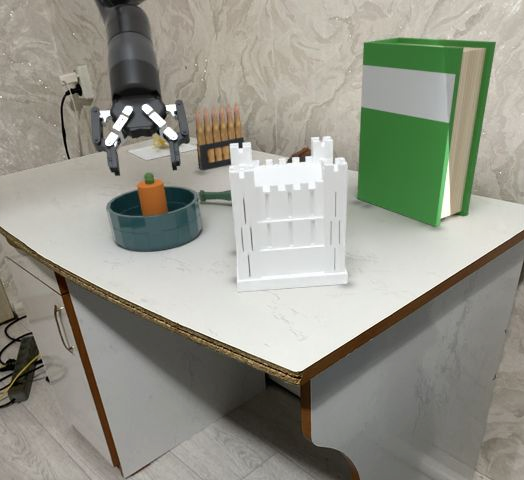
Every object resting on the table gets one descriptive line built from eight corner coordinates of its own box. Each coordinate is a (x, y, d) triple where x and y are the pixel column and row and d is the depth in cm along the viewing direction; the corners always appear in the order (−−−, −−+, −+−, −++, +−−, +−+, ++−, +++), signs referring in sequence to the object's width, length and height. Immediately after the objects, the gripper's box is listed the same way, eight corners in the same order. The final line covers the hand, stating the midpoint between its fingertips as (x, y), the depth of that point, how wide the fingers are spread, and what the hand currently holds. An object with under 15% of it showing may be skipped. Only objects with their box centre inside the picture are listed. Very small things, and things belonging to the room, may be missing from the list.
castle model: (237, 247, 80) (227, 143, 72) (331, 240, 80) (332, 135, 72) (237, 292, 69) (225, 174, 60) (347, 283, 69) (351, 164, 60)
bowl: (110, 257, 80) (102, 222, 77) (117, 223, 92) (109, 191, 89) (205, 245, 81) (200, 210, 78) (199, 213, 93) (195, 182, 90)
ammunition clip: (242, 159, 120) (238, 101, 113) (246, 161, 119) (241, 102, 112) (198, 168, 116) (191, 108, 109) (201, 170, 115) (194, 110, 108)
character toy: (155, 137, 126) (142, 132, 131) (158, 151, 128) (144, 146, 133) (186, 131, 129) (171, 126, 135) (188, 145, 131) (173, 140, 137)
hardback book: (467, 214, 85) (496, 41, 72) (435, 226, 82) (458, 48, 68) (387, 188, 98) (399, 37, 84) (357, 198, 94) (363, 42, 81)
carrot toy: (145, 236, 84) (134, 177, 79) (146, 227, 88) (135, 170, 82) (171, 233, 85) (161, 174, 80) (170, 224, 88) (161, 167, 83)
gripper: (80, 60, 78) (91, 161, 75) (178, 53, 79) (192, 152, 77) (92, 94, 85) (102, 187, 83) (182, 87, 87) (195, 178, 84)
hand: (145, 170), depth 80 cm, fingers open, 8 cm apart
